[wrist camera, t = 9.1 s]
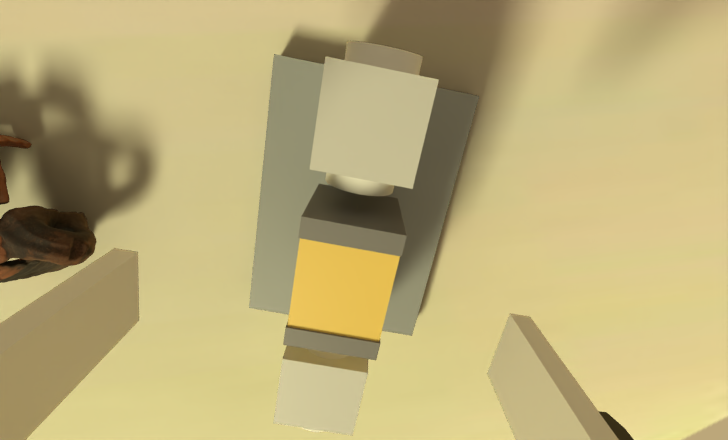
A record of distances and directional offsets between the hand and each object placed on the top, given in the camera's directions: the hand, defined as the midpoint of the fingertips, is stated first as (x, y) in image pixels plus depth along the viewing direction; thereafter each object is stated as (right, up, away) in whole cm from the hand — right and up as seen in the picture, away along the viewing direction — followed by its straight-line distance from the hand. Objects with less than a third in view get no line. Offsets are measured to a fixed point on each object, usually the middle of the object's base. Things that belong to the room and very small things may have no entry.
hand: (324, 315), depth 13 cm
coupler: (+1, +2, +7) cm, 7 cm away
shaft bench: (+1, +4, +12) cm, 13 cm away
